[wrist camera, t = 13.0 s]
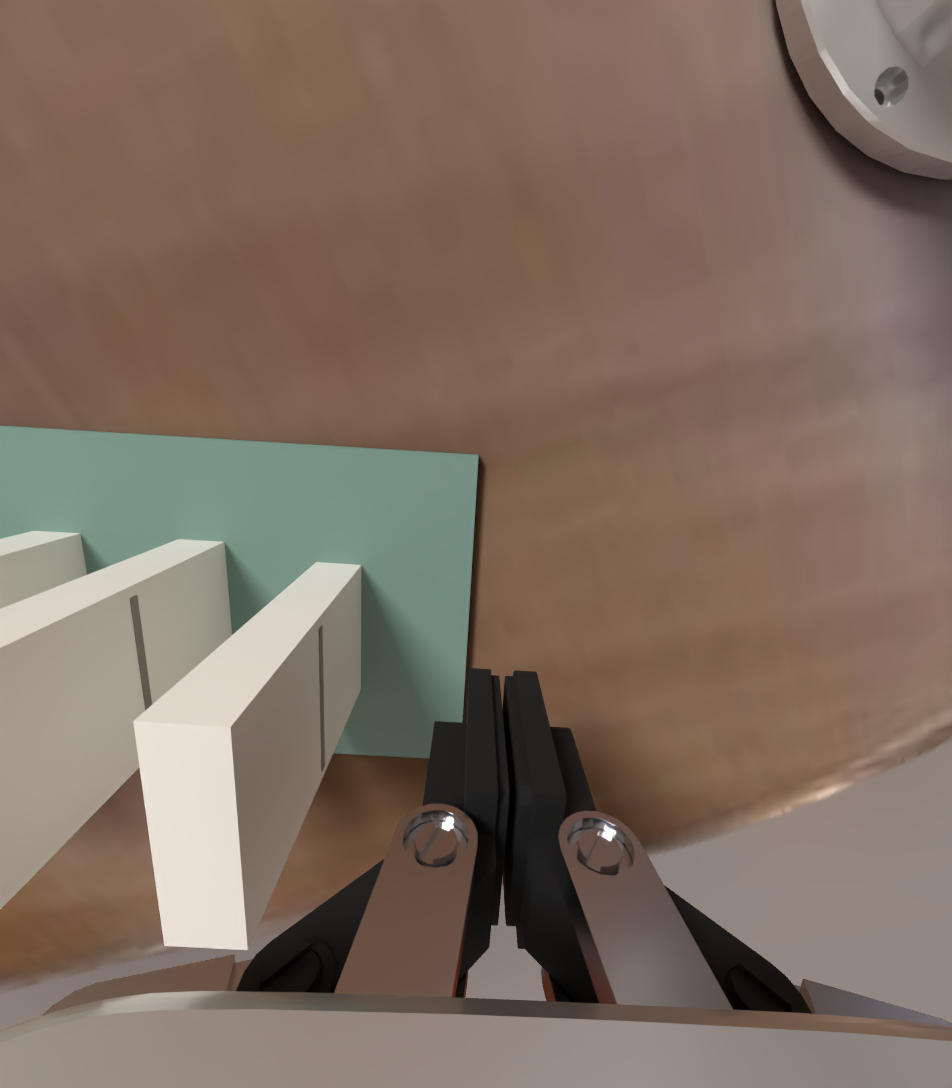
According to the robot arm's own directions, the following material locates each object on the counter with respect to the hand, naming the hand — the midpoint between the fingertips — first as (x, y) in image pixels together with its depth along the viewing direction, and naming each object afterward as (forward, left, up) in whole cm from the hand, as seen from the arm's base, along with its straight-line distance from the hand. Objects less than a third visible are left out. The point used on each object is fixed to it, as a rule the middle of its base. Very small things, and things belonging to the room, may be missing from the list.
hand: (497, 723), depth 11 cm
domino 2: (+6, 0, -6) cm, 8 cm away
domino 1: (+10, 0, -6) cm, 12 cm away
